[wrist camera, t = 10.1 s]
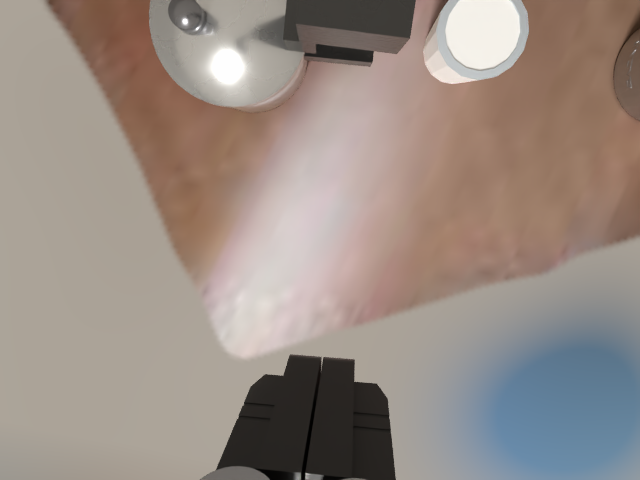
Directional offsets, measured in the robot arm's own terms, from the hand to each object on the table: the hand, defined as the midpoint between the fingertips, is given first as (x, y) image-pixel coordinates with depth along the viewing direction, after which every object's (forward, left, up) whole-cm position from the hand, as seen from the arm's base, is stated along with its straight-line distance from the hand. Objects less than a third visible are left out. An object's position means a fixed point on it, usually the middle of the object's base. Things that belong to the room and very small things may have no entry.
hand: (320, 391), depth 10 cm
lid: (+5, -13, -23) cm, 27 cm away
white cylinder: (-11, -15, -33) cm, 38 cm away
